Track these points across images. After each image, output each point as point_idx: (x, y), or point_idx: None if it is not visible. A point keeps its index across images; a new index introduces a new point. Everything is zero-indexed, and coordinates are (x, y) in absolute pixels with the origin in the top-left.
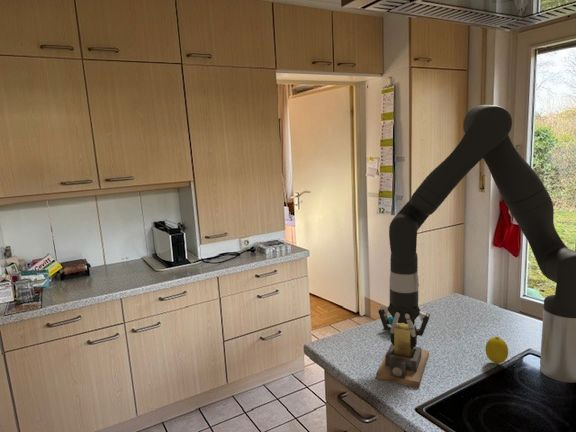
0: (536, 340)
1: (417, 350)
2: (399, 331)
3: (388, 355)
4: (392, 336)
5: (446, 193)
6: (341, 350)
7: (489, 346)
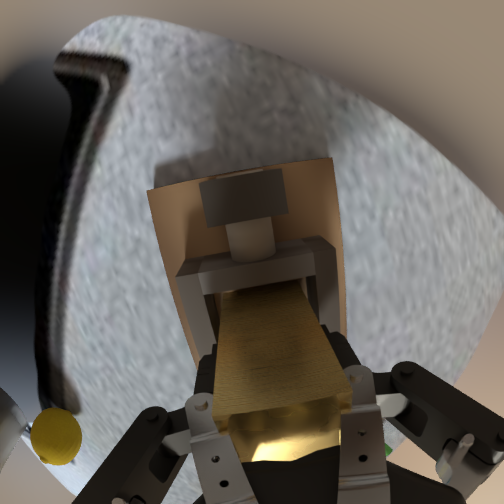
0: (84, 481)
1: None
2: (301, 385)
3: (323, 259)
4: (344, 358)
5: None
6: (469, 272)
7: (53, 438)
